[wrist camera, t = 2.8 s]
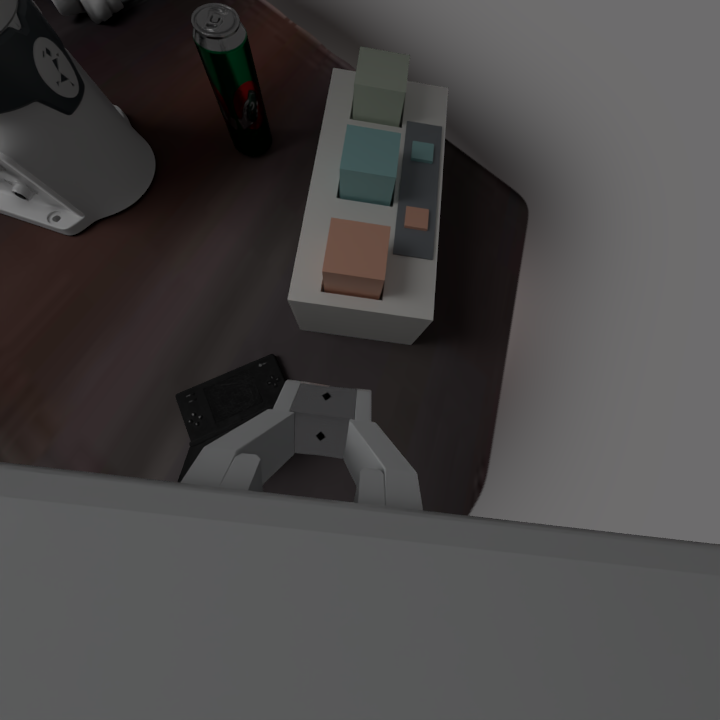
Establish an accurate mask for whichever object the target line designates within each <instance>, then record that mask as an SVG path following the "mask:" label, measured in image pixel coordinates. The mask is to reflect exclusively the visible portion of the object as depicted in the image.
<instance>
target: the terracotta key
mask: <svg viewBox="0 0 720 720" xmlns="http://www.w3.org/2000/svg"><path fill="white" fill-rule="evenodd" d="M390 229H391V226H384V225H378V224H371V223H365V222H358V221H351V220H345V219H338V218H332V217H331V222H330V228H329V233H328V239H327V245H326V251H325V257H324V263H323V269H322V275H323V283H324V291H325V292H326V293H333V294H340V295H347V296H354V297H361V298H368V299H375V300H379V297H380V294H381V291H382V288H383V284H384V281H385V274H386V265H387V256H388V247H389V238H390Z"/></svg>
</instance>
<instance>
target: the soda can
mask: <svg viewBox="0 0 720 720" xmlns="http://www.w3.org/2000/svg"><path fill="white" fill-rule="evenodd" d="M191 22H192V25H193V39H194V42H195V44H196V47H197V50H198V52H199V55H200V57H201V60H202V63H203V65H204V68H205V71H206V73H207V76H208V78H209V81H210V84H211V86H212V89H213V91H214V94H215V97H216V99H217V102H218V104H219V107H220V110H221V112H222V115H223V118H224V120H225V123H226V125H227V128H228V131H229V133H230V136H231V138H232V141H233V144H234V146H235V148H236V149H237V150H238V151H239V152H241V153H243V154H245V155H247V156H251V157H257V156H261V155H263V154H265V153H266V152H267V151H268V150H269V148H270V146H271V144H272V136H271V132H270V128H269V123H268V119H267V115H266V111H265V107H264V103H263V99H262V94H261V90H260V86H259V82H258V78H257V74H256V69H255V65H254V61H253V57H252V53H251V49H250V44H249V40H248V36H247V32H246V29H245V28H244V26H243V25H242V23H241V22H240V20H239V16H238V14H237V13H236V11H235V10H234V9H232V8H231V7H229V6H227V5H224V4H220V3H209V4H205V5H202V6H200V7H198V8H197V9H196V10H195V11H194V12H193V14H192V16H191Z"/></svg>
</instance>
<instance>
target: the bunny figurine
mask: <svg viewBox="0 0 720 720" xmlns="http://www.w3.org/2000/svg"><path fill="white" fill-rule="evenodd" d="M52 1H53V3H54V5H55V6H56V8H57V9H58V11H59V12H60V14H62V15H64V16H68V15H73V14H78V13H85V12H86V13H87V14H88V16H89V17H90V19H91V20H92V21H94V22H95V23H97V24H100V23H101V22H102V21H104V22H105V21H106V20H108V19H109V18H110V17H112V16H113V15H112V14H113V13H117V12H118V11H120V10H121V9H122V8H124V6H123V4H122V2H121V0H52Z"/></svg>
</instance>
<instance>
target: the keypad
mask: <svg viewBox="0 0 720 720" xmlns="http://www.w3.org/2000/svg"><path fill="white" fill-rule="evenodd" d="M355 75H356V72H355V71H349V70H343V69H337V68H333V72H332V77H331V82H330V87H329V92H328V97H327V102H326V107H325V112H324V117H323V122H322V128H321V133H320V138H319V143H318V148H317V153H316V158H315V163H314V168H313V173H312V178H311V183H310V188H309V194H308V199H307V204H306V209H305V214H304V219H303V224H302V229H301V234H300V239H299V244H298V249H297V254H296V260H295V265H294V270H293V275H292V280H291V285H290V290H289V295H288V302H289V304H290V307H291V309H292V311H293V314H294V316H295V318H296V321H297V323H298V325H299V328H300V330H306V331H313V332H320V333H327V334H335V335H342V336H349V337H356V338H364V339H371V340H378V341H386V342H393V343H400V344H407V345H412V343H413V342H414V341H415V340H416V339H417V338H418V337H419V336H420V335H421V333H422V332H423V331H424V330H425V329H426V328H427V327H428V326H429V324H430V323H431V322H432V321H433V315H434V300H435V284H436V269H437V253H438V238H439V223H440V207H441V192H442V177H443V161H444V146H445V131H446V115H447V100H448V88H447V87H441V86H435V85H429V84H423V83H418V82H412V81H407V86H406V94H405V99H404V104H403V109H402V114H401V119H400V124H399V127H394V126H388V125H382V124H376V123H370V122H364V121H358V120H353V97H354V81H355ZM347 124H349V125H355V126H361V127H367V128H373V129H379V130H385V131H391V132H397V133H401V139H400V148H399V157H398V166H397V175H396V181H395V185H394V190H393V194H392V199H391V203H390V206H384V205H377V204H371V203H364V202H358V201H352V200H345V199H340V163H341V157H342V151H343V145H344V140H345V134H346V128H347ZM331 217H332V218H338V219H345V220H351V221H358V222H365V223H371V224H378V225H384V226H391V229H390V238H389V247H388V256H387V265H386V274H385V281H384V284H383V288H382V291H381V294H380V297H379V300H375V299H368V298H361V297H354V296H347V295H340V294H333V293H326V292H325V291H324V283H323V275H322V269H323V263H324V257H325V251H326V245H327V239H328V233H329V228H330V222H331Z"/></svg>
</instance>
